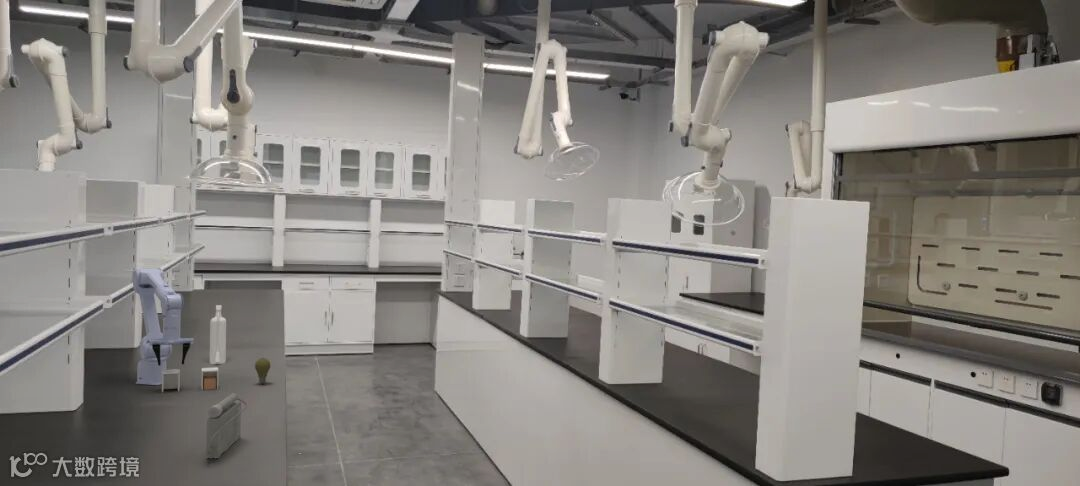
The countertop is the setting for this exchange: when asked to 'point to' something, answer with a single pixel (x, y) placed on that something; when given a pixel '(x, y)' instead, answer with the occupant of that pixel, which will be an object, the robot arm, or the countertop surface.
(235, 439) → the geiger counter
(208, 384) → the cube
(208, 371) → the right cover
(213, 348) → the white bottle
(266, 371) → the light bulb
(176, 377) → the left cover
